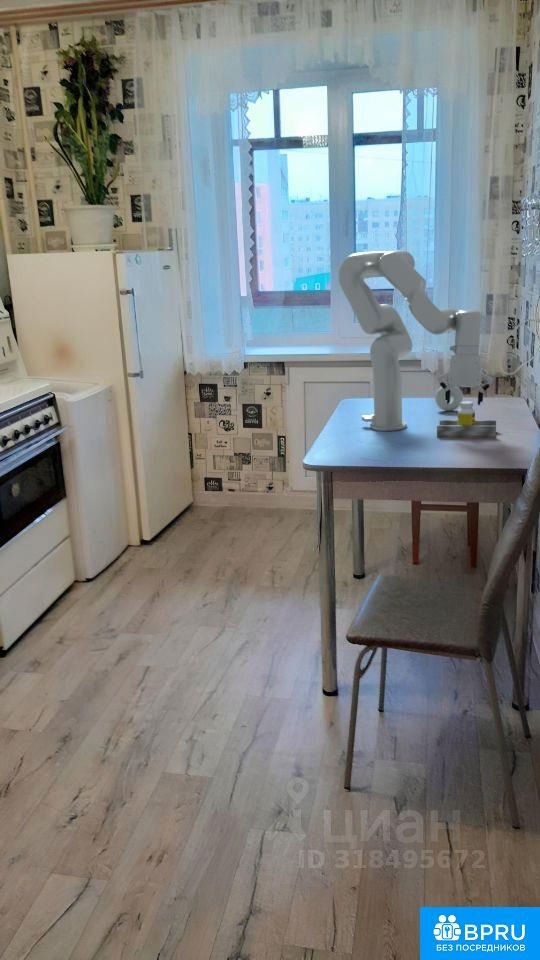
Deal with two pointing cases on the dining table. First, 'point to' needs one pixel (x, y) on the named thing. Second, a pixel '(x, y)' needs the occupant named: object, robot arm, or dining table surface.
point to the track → (467, 429)
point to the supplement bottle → (466, 413)
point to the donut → (454, 403)
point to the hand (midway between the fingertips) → (463, 403)
